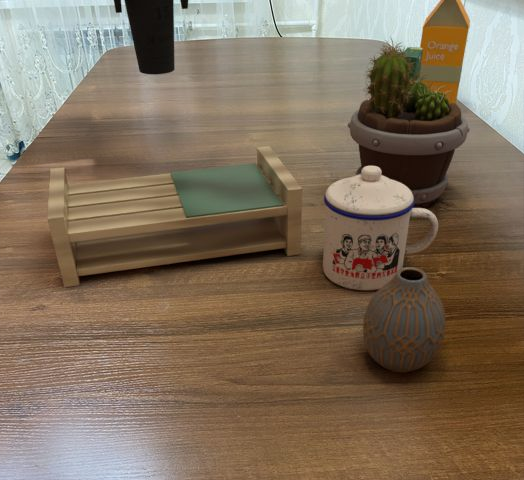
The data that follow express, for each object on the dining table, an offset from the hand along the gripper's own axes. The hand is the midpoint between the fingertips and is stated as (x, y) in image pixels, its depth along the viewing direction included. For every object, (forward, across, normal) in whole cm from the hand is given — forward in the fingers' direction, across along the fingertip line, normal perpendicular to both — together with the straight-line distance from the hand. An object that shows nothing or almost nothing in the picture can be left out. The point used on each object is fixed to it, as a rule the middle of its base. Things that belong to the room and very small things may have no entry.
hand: (152, 3), depth 76 cm
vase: (+51, +14, -19) cm, 56 cm away
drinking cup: (+4, 0, +9) cm, 9 cm away
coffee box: (+11, +40, +21) cm, 47 cm away
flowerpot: (+27, +29, +4) cm, 40 cm away
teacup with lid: (+40, +18, -8) cm, 45 cm away
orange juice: (+3, +52, +29) cm, 60 cm away
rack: (+31, -2, +1) cm, 31 cm away
